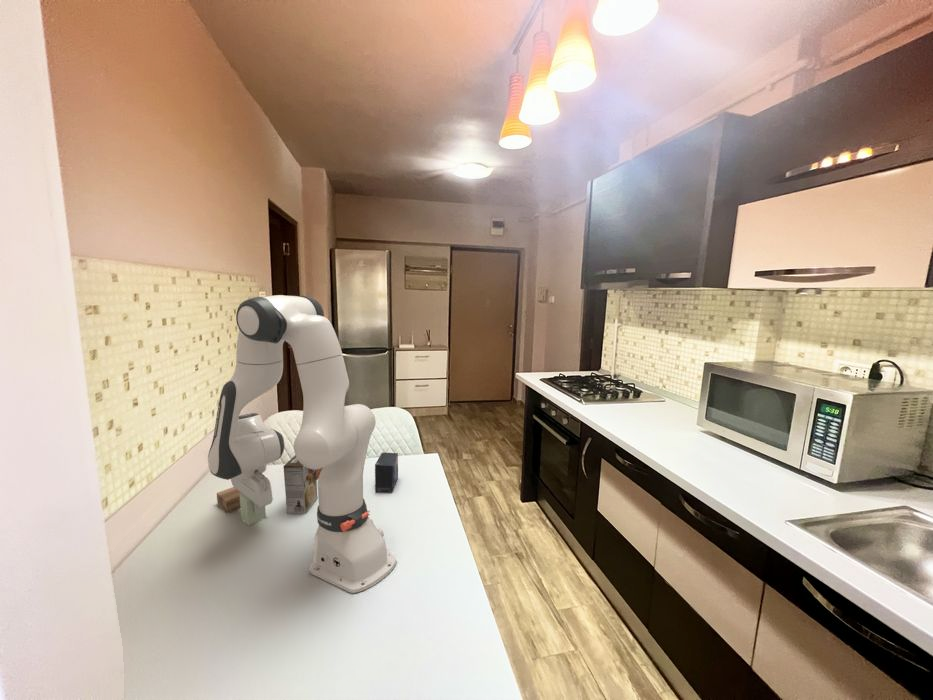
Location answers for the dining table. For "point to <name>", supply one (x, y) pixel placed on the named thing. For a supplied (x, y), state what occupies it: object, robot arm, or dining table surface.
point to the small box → (386, 472)
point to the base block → (229, 499)
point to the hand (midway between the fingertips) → (252, 508)
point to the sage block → (250, 511)
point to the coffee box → (299, 486)
